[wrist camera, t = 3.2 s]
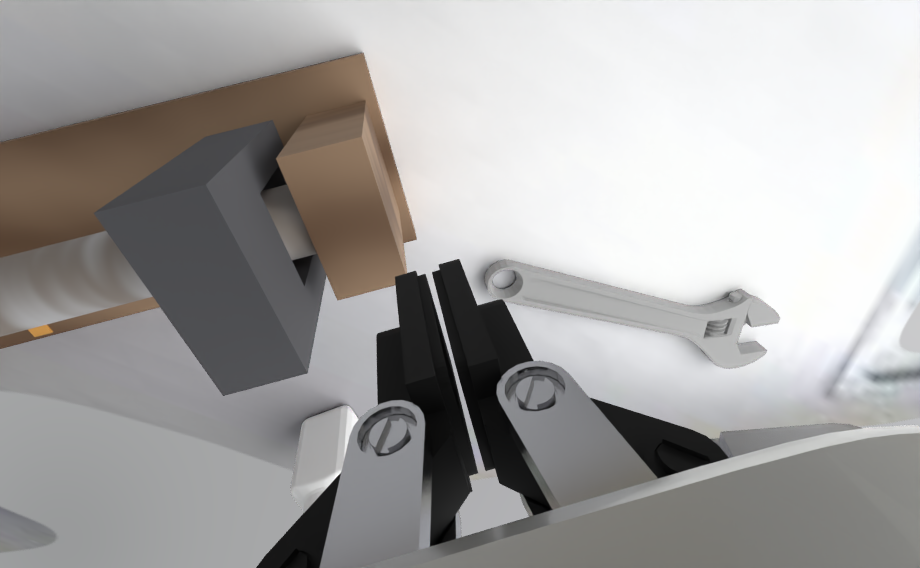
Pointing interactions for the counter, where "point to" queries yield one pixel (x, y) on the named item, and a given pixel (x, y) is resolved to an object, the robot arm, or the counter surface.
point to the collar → (222, 258)
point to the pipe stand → (159, 141)
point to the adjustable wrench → (642, 310)
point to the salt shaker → (320, 453)
